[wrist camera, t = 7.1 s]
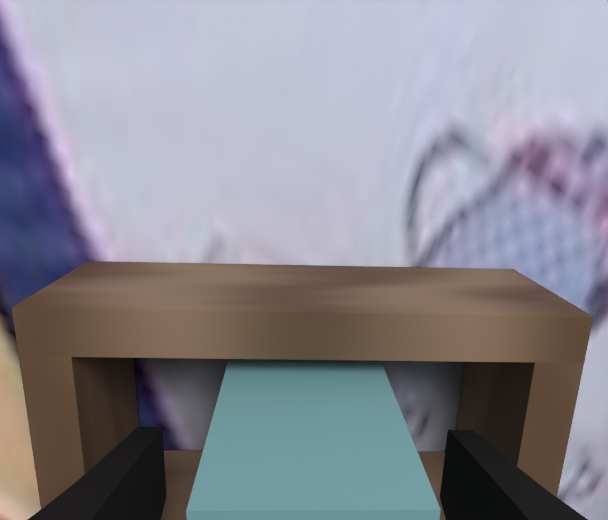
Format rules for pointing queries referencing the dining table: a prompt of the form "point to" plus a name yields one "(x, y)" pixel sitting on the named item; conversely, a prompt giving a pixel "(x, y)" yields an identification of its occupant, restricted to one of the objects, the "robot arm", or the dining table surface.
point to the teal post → (309, 446)
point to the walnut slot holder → (294, 351)
